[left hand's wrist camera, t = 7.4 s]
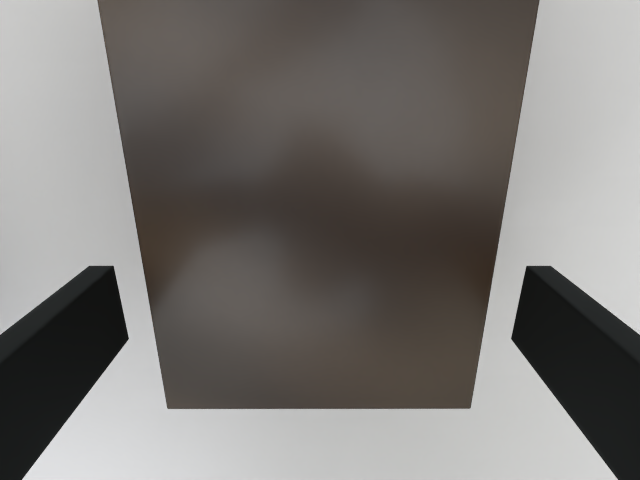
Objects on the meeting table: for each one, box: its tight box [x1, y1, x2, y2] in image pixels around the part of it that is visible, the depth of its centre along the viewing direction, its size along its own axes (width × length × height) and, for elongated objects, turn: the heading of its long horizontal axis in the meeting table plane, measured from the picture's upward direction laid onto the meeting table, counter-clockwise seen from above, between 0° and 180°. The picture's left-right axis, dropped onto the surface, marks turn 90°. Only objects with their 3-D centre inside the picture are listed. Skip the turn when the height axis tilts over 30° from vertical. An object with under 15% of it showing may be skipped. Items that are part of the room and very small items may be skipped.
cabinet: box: [98, 0, 539, 409], centre depth 16 cm, size 16×11×9 cm
